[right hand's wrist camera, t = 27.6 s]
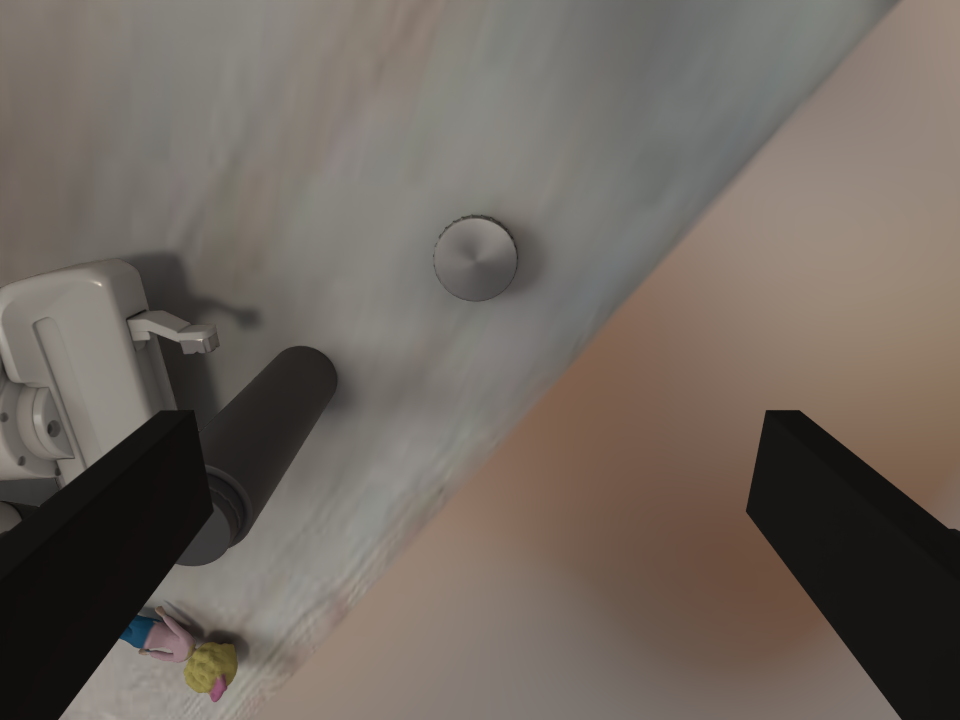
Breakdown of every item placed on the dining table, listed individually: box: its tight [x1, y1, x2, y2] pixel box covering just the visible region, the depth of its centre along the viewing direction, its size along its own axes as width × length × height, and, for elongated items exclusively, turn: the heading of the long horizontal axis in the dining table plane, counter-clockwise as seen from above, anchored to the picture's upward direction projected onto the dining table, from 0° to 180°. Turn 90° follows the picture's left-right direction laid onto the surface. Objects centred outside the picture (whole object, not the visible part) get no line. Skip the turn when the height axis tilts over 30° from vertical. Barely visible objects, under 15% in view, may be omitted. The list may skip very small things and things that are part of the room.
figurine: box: [120, 606, 238, 702], centre depth 51 cm, size 6×4×15 cm
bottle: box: [175, 346, 337, 566], centre depth 35 cm, size 5×5×19 cm
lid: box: [433, 215, 518, 301], centre depth 40 cm, size 6×6×2 cm
